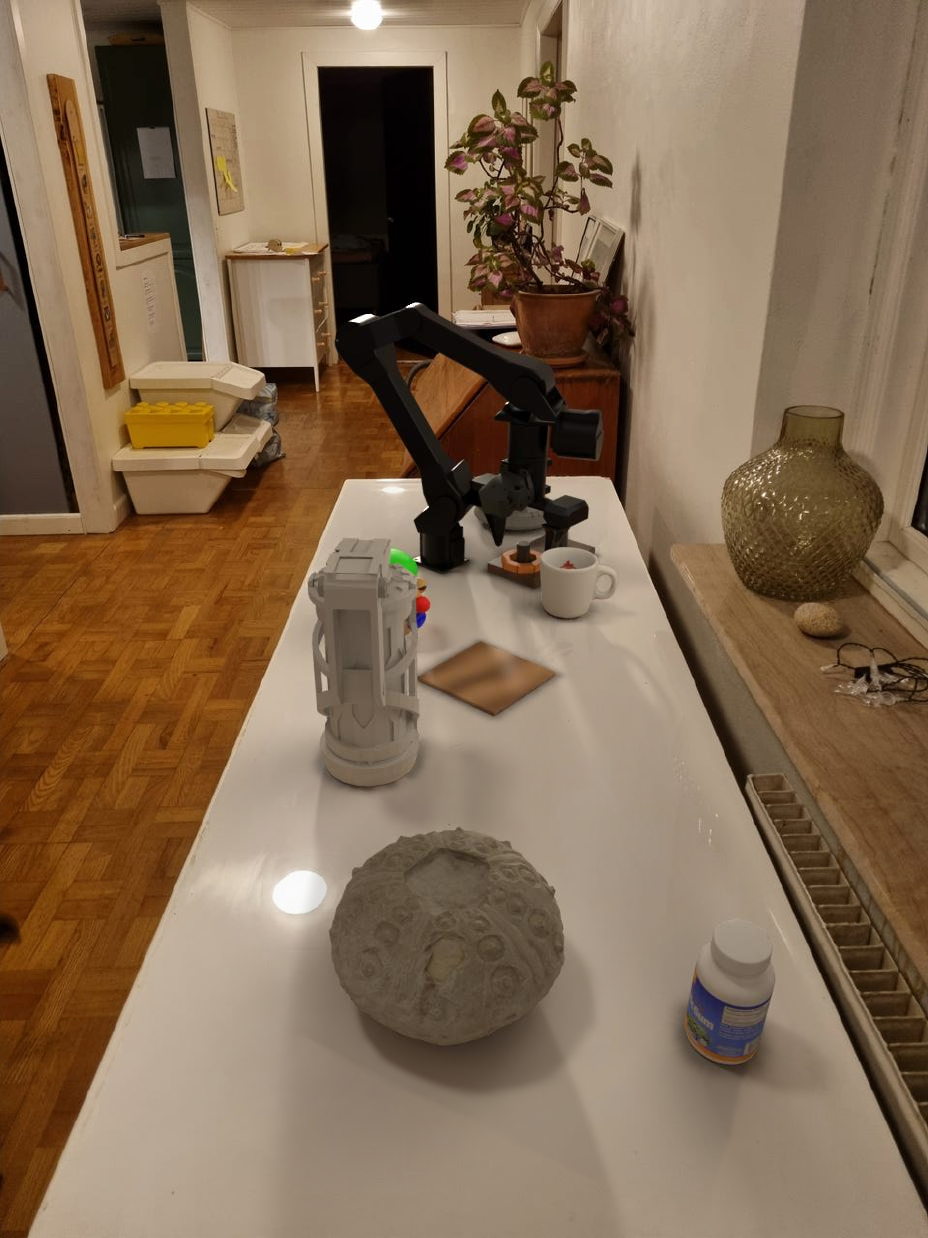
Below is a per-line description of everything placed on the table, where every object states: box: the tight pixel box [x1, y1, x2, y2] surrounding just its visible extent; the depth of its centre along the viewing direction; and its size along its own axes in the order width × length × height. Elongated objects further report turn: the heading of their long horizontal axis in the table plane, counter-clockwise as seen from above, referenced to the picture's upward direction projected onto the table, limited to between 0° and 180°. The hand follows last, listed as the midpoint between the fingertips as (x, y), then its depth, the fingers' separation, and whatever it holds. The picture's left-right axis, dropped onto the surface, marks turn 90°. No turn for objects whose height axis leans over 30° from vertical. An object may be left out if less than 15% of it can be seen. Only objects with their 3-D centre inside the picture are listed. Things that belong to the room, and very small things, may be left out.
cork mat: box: [417, 640, 556, 716], centre depth 112 cm, size 12×12×1 cm
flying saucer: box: [473, 495, 550, 531], centre depth 157 cm, size 15×15×6 cm
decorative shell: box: [328, 826, 565, 1046], centre depth 70 cm, size 18×18×10 cm
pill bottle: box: [684, 918, 776, 1066], centre depth 65 cm, size 5×5×10 cm
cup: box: [540, 547, 619, 619], centre depth 127 cm, size 11×8×8 cm
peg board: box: [486, 531, 596, 589], centre depth 141 cm, size 9×16×5 cm, turn 140°
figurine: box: [390, 548, 431, 636], centre depth 118 cm, size 11×10×12 cm
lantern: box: [307, 537, 421, 788], centre depth 90 cm, size 13×10×25 cm
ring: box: [500, 548, 542, 574], centre depth 138 cm, size 6×6×1 cm
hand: (522, 553), depth 138 cm, fingers open, 9 cm apart
